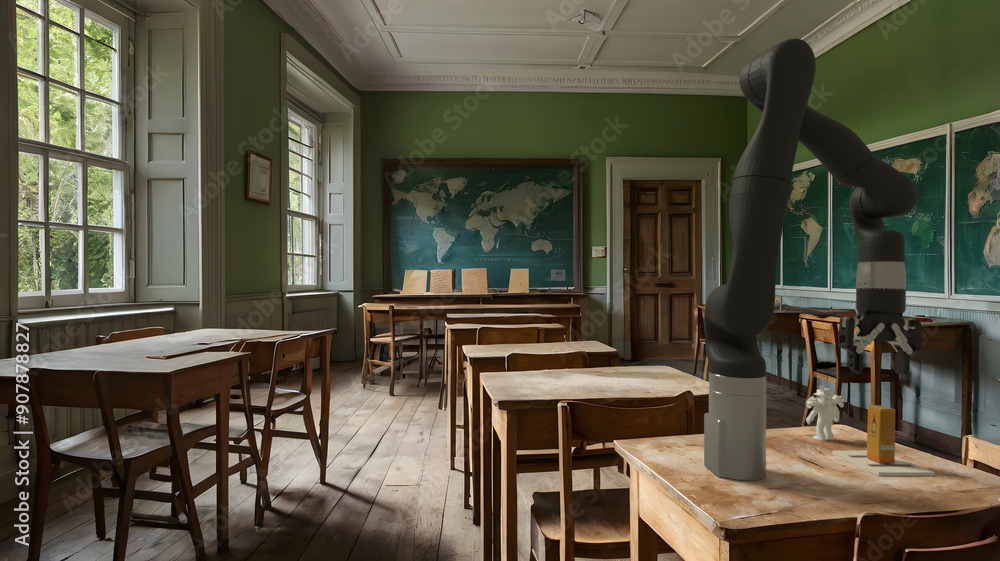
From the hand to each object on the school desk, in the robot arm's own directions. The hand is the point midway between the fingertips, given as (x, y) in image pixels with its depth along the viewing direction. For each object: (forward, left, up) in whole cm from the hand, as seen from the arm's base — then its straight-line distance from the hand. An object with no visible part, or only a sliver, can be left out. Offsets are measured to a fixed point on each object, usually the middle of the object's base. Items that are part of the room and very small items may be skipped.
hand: (879, 373), depth 97 cm
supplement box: (0, 0, -16) cm, 16 cm away
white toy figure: (0, +16, -17) cm, 23 cm away
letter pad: (0, 0, -17) cm, 17 cm away
